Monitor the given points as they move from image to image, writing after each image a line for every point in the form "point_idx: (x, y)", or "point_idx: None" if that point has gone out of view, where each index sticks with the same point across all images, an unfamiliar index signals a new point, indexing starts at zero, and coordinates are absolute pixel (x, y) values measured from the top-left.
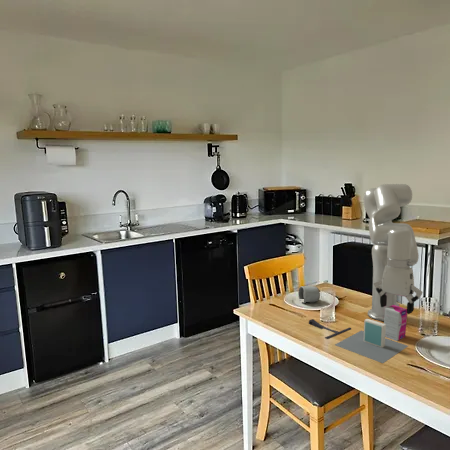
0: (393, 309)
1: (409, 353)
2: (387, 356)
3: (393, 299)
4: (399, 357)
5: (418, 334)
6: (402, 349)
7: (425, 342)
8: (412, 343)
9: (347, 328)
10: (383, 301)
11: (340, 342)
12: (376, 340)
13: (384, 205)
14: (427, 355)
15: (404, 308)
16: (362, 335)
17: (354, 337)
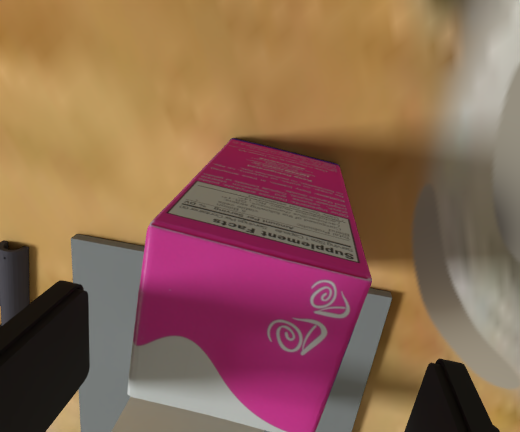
0: (221, 391)
1: (411, 356)
2: None
3: None
4: (372, 418)
5: (415, 13)
6: (371, 359)
7: (486, 146)
8: (402, 218)
9: (3, 273)
10: (42, 417)
11: (86, 427)
12: None
13: None
14: (512, 331)
15: (327, 281)
16: (116, 302)
17: (100, 348)
